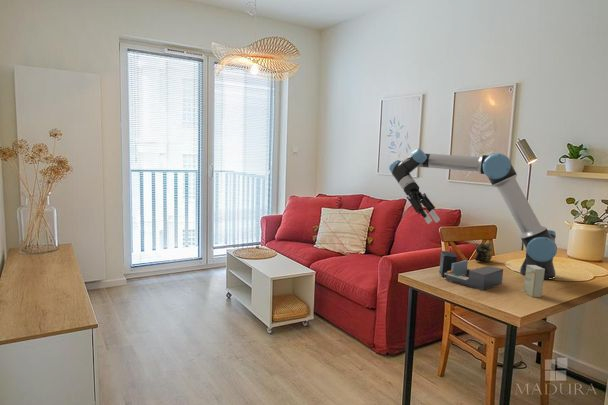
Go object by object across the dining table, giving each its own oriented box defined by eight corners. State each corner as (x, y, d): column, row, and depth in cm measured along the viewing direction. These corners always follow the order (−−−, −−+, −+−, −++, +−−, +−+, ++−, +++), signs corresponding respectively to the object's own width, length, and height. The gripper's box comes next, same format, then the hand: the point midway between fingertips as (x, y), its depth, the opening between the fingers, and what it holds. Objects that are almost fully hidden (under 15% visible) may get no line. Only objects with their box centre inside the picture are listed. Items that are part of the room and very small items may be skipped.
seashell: (466, 258, 230) (468, 241, 229) (485, 258, 232) (487, 241, 230) (476, 263, 220) (478, 245, 219) (496, 263, 221) (498, 245, 220)
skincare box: (522, 292, 175) (525, 264, 173) (532, 292, 175) (535, 264, 173) (532, 297, 168) (535, 268, 167) (542, 297, 169) (545, 268, 167)
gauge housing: (501, 284, 185) (503, 269, 184) (481, 291, 174) (482, 275, 173) (465, 274, 199) (466, 260, 198) (443, 280, 188) (444, 265, 187)
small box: (456, 278, 192) (457, 256, 190) (441, 277, 193) (443, 255, 192) (452, 272, 202) (454, 251, 201) (438, 271, 203) (440, 250, 202)
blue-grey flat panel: (466, 273, 196) (467, 260, 195) (447, 279, 186) (449, 265, 185) (464, 273, 197) (465, 260, 196) (445, 278, 187) (447, 264, 186)
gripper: (416, 190, 221) (440, 224, 210) (393, 191, 209) (417, 227, 198) (425, 181, 216) (450, 216, 205) (402, 181, 204) (427, 218, 194)
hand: (434, 221), depth 202 cm, fingers open, 6 cm apart
